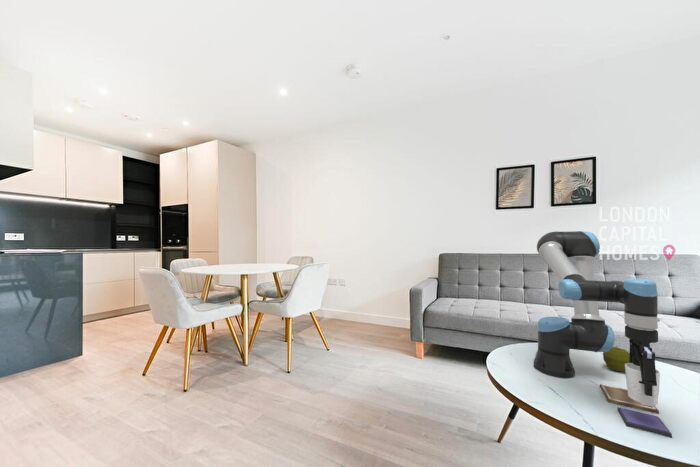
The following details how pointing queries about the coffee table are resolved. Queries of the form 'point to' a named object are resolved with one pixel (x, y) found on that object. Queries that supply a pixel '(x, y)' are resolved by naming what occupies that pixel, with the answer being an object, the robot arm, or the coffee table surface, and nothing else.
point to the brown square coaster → (624, 398)
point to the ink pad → (644, 422)
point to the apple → (616, 359)
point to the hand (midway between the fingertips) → (642, 398)
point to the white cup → (633, 382)
